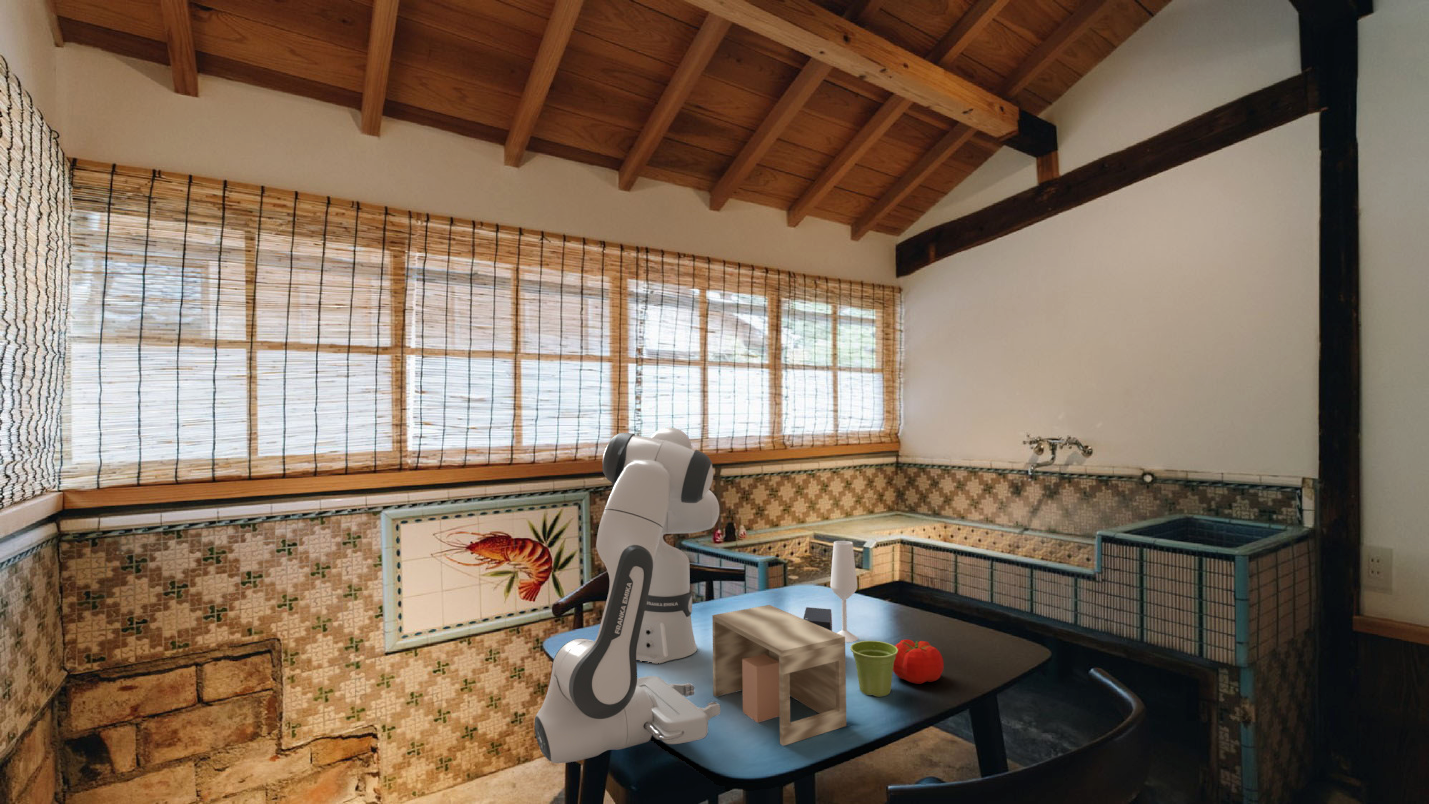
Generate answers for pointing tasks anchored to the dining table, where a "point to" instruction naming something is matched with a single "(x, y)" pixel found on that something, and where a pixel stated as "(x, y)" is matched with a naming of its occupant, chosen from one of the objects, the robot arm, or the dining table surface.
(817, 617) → the small box
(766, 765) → the dining table surface
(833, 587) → the champagne flute
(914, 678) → the tomato
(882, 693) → the plant pot
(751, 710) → the terracotta block
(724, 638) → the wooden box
